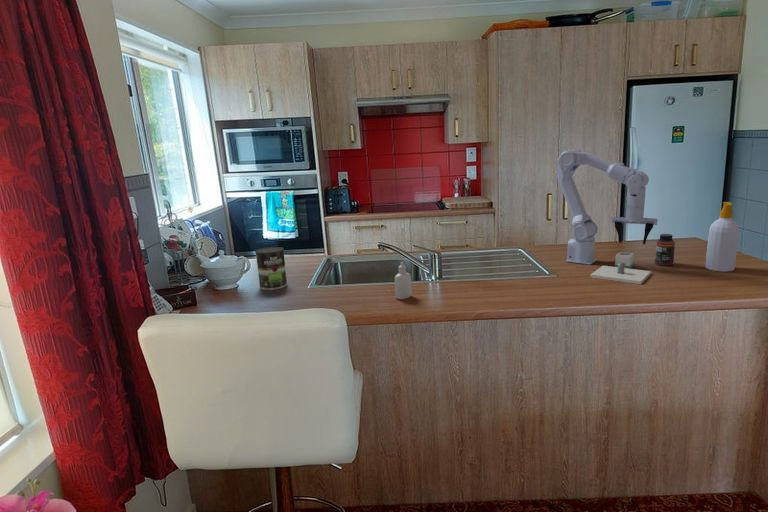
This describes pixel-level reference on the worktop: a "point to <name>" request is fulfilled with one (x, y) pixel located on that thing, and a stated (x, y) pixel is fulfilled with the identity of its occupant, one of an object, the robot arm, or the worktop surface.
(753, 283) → the worktop surface
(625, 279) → the pin board
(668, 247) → the supplement bottle
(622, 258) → the sleeve
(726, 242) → the soap bottle
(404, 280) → the eye dropper bottle
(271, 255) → the coffee can
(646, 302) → the worktop surface
